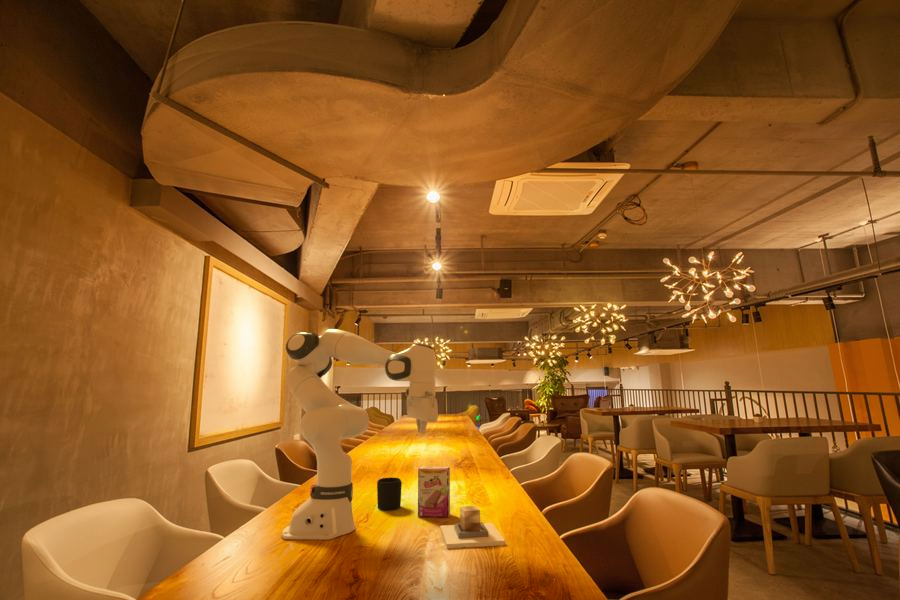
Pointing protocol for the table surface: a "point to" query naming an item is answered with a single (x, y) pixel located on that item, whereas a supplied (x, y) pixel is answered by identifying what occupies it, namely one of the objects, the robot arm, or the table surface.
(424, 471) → the candy bar box
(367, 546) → the table surface
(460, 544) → the base plate
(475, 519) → the tan rectangular block
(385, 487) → the pen holder
